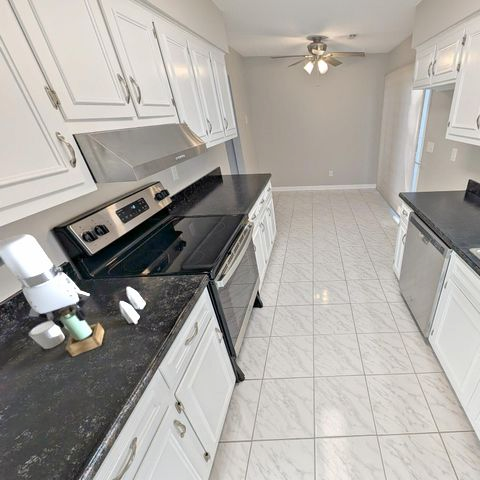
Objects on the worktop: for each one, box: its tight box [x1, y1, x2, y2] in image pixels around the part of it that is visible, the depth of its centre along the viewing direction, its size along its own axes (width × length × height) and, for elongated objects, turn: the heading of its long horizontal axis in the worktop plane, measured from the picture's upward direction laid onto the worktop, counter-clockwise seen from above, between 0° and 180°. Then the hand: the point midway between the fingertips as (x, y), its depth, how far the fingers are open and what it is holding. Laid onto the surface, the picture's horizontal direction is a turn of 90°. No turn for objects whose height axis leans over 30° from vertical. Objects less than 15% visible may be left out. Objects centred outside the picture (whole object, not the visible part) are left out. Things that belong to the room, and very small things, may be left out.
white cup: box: [28, 320, 66, 350], centre depth 86 cm, size 7×7×7 cm
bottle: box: [58, 305, 92, 340], centre depth 82 cm, size 5×5×12 cm
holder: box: [65, 322, 105, 357], centre depth 85 cm, size 8×8×4 cm
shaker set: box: [118, 286, 146, 325], centre depth 95 cm, size 12×4×11 cm, turn 12°
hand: (73, 321), depth 81 cm, fingers closed on bottle, 4 cm apart
